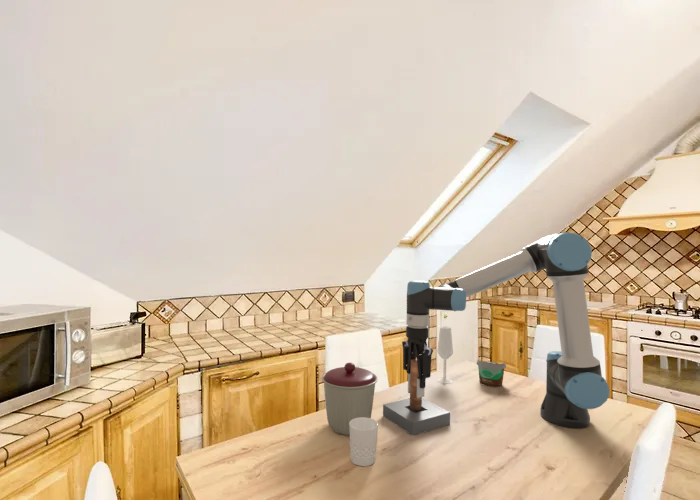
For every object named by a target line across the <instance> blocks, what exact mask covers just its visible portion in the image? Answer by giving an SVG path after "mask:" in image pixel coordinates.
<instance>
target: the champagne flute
mask: <svg viewBox="0 0 700 500" xmlns="http://www.w3.org/2000/svg"><path fill="white" fill-rule="evenodd" d="M438 332H439V334H438V341H437V342H438V343H437V354H438V356H439V357H440V358H441V359H443V369H442V371H443V374H442V375H443V376H442V377H440V378H438V379H437V380H436V382H438V383H440V384H444V385H449V384H452V383H453V380H451V379H450V378H448V377H447V360H448V359H449V358H451V356H452V355H453V353H454V350H453V338H452V337H453V336H452V327H451V326H447V325H443V326H439V331H438Z"/></svg>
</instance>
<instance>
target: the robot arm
mask: <svg viewBox="0 0 700 500" xmlns="http://www.w3.org/2000/svg"><path fill="white" fill-rule="evenodd" d="M592 253H593V251H592V247H591V245H590V243H589V241H588V240H587V239H586V238H585V237H583V236H582V235H580V234H578V233H574V232H569V231H566V232H564V231H563V232H559V233H558V232H557V233H551V234H548V235H545V236H544V237H541V238H540V239H538V240H536V241H534V242H533V243H531V244H528V245H527V246H524V247H522V248H521V250H520V251H519V252H517V253H516V254H512V255H511V256H507V257H506V258H503V259H501V260H498V261H496V262H493V263H491V264H489V265H487V266H484V267H482V268H480V269H477V270H474V271H473V272H470V273H468V274H466V275H464V276H461V277H458V278H456V279H455V280H454V279H453V280H451V281H449V282H446V283H442V284H440V285H438V286H437V287H433V286H431V285H430V282H429V281H426V280H410V281H408V283H407V287H406V328H405V337H406V338H407V340H403V341H401V345H402V365H403V366H402V369H403V370H405V371H406V374H407V377H406V378H407V379H406V380H407V393H408V394H410V371H411V359H417V364H418V374H419V377H417V398H420V397H422V398H424V397H425V388H426V382H427V381H426V379H428V378H431V376H432V374H431V372H432V371H431V370H432V355H433V352H434V349H433V348H430V347H429V346H428V343H427V340H428V339H429V327H428V326H429V325H430V322H429V321H430V320H429V319H430V314H429V313H430V310H431V311H432V310H433V311H434V310H435V311H436V310H437V311H450V312H452V311H453V312H459V311H460V312H463V311H465V310H466V307H467V298H468V297H471V296H473V295H474V296H475V294H479V293H481V292H483V291H486V290H488V289H491V288H493V287H496V286H499V285H500V284H503V283H505V282H508V281H511V280H513V279H515V278H518V277H520V276H522V275H525V274H527V273H530V272H532V273H538V272H541V271H542V270H543V271H544V270H545V272H546V273H545V274H546V277H547V278H548V279H549V280H550V281H552V287H553V294H554V296H553V297H554V305H555V310H556V311H555V312H556V319H557V326H558V333H559V334H558V335H559V343H560V350H561V351H557V350H556V351H554V350H553V351H549V352H548V353H547V354H546V355H547V356H546V359H545V361H546V379H545V381H546V386H545V387H546V390H545V395H544V398H543V400H542V403H541V405H540V412H539V413H540V417H542V418H543V419H544V420H546V421H548V422H550V423H551V424H555V425H558V426H561V427H564V428H565V427H566V428H572V429H583V428H588V427H590V424H591V417H590V413H589V410H594V409H598V408H600V407H601V406H603V405H604V404H605V403H606V402H607V401H608V399H609V397H610V392H611V391H610V386H609V384H608V382H607V380H606V379H605V378H604V376H603V375H602V369H601V361H600V359H598V358H596V357H595V356H594V353H593V351H594V350H593V343H592V335H591V328H590V327H591V326H590V321H589V320H590V319H589V314H588V313H589V312H588V305H587V295H586V288H585V283H584V282H585V280H584V279H585V278H586V277H587V276H588V275H589V266H588V264H589V263H590V261H591V259H592V256H593V255H592Z"/></svg>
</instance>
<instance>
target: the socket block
mask: <svg viewBox="0 0 700 500" xmlns="http://www.w3.org/2000/svg"><path fill="white" fill-rule="evenodd" d="M382 416H383V417H384V418H386V419H387V420H388V421H389V422H392V423H393V424H395V425H396V426H397V427H399V428H401V429H402V430H403V431H405V432H407V434H410V435H411V436H416V435H418V434H422V433H425V432H429V431H432V430H436V429H439V428H443V427H446V426H448V425H449V426H450V425H451V412H450V411H448V410H446V409H444V408H443V407H440V406H438V405H436V404H434V403H433V402H431V401H429V400H426V399H425V398H424V397H422V408H421V409H419V410H415V409H411V408H410V397H408V398H404V399H401V400H396V401H391V402H388V403H383V404H382Z"/></svg>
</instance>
